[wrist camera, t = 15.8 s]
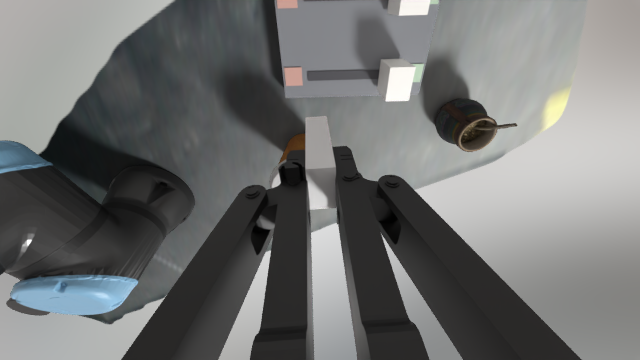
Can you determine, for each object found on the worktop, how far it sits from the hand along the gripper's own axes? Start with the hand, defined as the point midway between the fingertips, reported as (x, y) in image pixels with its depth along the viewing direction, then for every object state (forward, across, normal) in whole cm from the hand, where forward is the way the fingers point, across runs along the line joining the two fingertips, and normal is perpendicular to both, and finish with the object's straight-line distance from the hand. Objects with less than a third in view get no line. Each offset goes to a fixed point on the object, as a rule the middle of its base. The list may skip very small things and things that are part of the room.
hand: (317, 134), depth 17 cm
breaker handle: (+19, -11, +1) cm, 22 cm away
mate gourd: (+22, -24, +9) cm, 33 cm away
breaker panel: (+22, -6, -4) cm, 23 cm away
